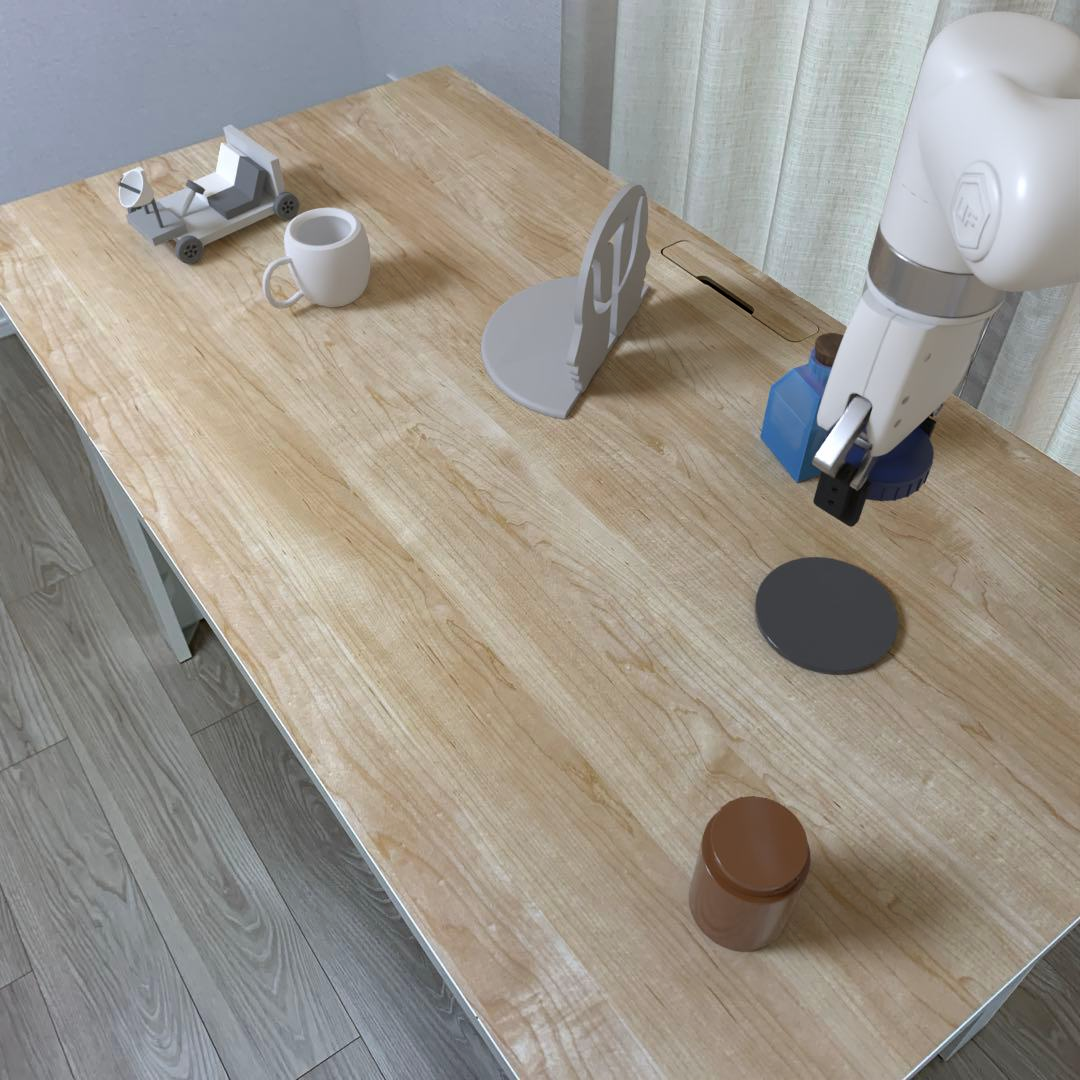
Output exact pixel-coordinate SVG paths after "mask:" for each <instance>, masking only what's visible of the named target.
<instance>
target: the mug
mask: <svg viewBox="0 0 1080 1080" xmlns="http://www.w3.org/2000/svg"><path fill="white" fill-rule="evenodd" d="M290 220H291V221H290V222H289V223H288V224H287V226H286V227H285V232H284V236H283V247H284V253H285V256H282V257H280V258H279V257H278V258H276V259H275V260H273V261H271V262H270V263H269V264H268V265H267V267H266V269H265V270H264V272H263V277H262V283H261V286H262V293H263V296H264V298H265V300H266V302H267V304H269V305H270V306H271V307H273V308H275V309H287V308H290V307H292V306H294V305H295V304H297V303H298V302H299V301H300V300H301V299H302V298H303V297H305V298H306V299H307V300H309V301H310V302H312V303H313V304H315V305H317V306H320V307H323V308H339V307H344V306H348V305H349V304H352V303H354V302H355V301H357V300H358V299H359V298H360V297H361V296H362V294H364V292H365V290H366V288H367V286H368V284H369V280H370V274H371V269H372V268H371V267H372V266H371V265H372V261H371V260H372V259H371V247H370V242H369V238H368V235H367V231H366V229H365V226H364V224H363V222H362V221H361V219H360V218H359V217H358V216H357V215H356V214H355V213H354V212H351V211H349V210H347V209H344V208H339V207H319V208H313V209H309V210H306V211H303V212H302V213H299V214H298V215H297V216H296V215H295V216H294V217H293V218H292V219H290ZM284 265H287V268H288V270H289V272H290V275H291V277H292V279H293V281H294V283H295V285H296V287H297V289H298V291H296V292H295V293H294V294H293V295H292V296H291V297H290V298H288V299H286V300H283V301H282V300H281V301H278V300H276V299H275V298H274V297H273V294H272V293H271V289H270V284H271V282H270V281H271V277H272V275H273V273H274V271H275V270H277V269H278V268H279V267H280V266H284Z"/></svg>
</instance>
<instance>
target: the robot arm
mask: <svg viewBox="0 0 1080 1080" xmlns="http://www.w3.org/2000/svg"><path fill="white" fill-rule="evenodd" d="M921 64H922V65H921V67H920V71H919V75H918V78H917V82H916V85H915V89H914V92H913V97H912V101H911V104H910V108H909V112H908V114H907V119H906V122H905V127H904V130H903V134H902V138H901V141H900V144H899V148H898V151H897V155H896V156H897V157H896V159H895V163H894V167H893V171H892V174H891V177H890V182H889V186H888V189H887V193H886V197H885V201H884V203H883V208H882V211H881V216H880V219H879V222H878V226H877V229H876V233H875V236H874V240H873V244H872V248H871V252H870V255H869V259H868V262H867V266H866V270H865V282H866V285H867V288H866V289H865V291H864V292H863V293H862V295H861V297H860V299H859V301H858V303H857V304H856V307H855V309H854V311H853V314H852V315H851V318H850V320H849V322H848V324H847V327H846V329H845V331H844V334H843V335H844V336H843V339H842V341H841V344H840V347H839V349H838V352H837V355H836V358H835V360H834V364H833V367H832V369H831V372H830V375H829V378H828V381H827V384H826V388H825V391H824V394H823V397H822V400H821V404H820V407H819V410H818V415H817V423H818V426H820V427H822V428H824V429H825V430H827V431H828V430H829V429H831V428H832V427H833V426H834V425H835V424H836V425H835V426H834V428H833V429H832V431H831V432H830V434H829V435H828V437H827V438H826V440H825V441H824V443H823V444H822V446H821V447H820V449H819V450H818V452H817V453H816V455H815V457H814V458H813V461H812V464H813V465H814V466H816V467H817V468H818V469H819V470H821V475H819V478H818V482H817V486H816V490H815V492H814V497H813V500H812V501H813V504H814V505H815V506H816V507H817V508H819V509H821V510H822V511H823V512H824V513H826V514H828V515H830V516H831V517H833V518H835V520H836V519H837V520H838V521H840V522H842V523H843V524H844V525H846V526H848V527H851V528H852V527H854V526H856V525H857V524H858V523H859V521H860V519H861V516H862V512H863V509H864V507H865V503H866V498H867V495H868V492H869V489H870V486H871V483H870V482H869V481H868V480H867V478H868V476H869V474H870V472H871V471H872V469H873V467H874V465H875V463H876V461H877V459H878V458H879V456H881V455H884V454H887V453H888V452H890V451H891V450H892V449H893V448H894V447H896V446H897V445H898V444H899V443H900V442H901V441H902V440H903V439H904V438H906V437H907V436H908V435H909V434H910V433H911V432H912V431H913V430H914V429H915V428H916V427H917V426H919V427H920V428H922V430H923V431H924V432H925V433H926V434H927V436H928V437H929V439H930V440H931V438H932V435H933V433H934V429H935V427H936V424H937V421H936V420H935V418H937V417H938V416H939V414H940V413H941V412H942V410H943V408H944V406H945V402H946V400H947V399H948V398H949V397H950V396H951V394H953V392H954V391H955V390H956V388H957V387H958V386H959V384H960V383H961V381H962V379H963V377H964V376H965V373H966V372H967V370H968V367H969V365H970V363H971V361H972V358H973V355H974V353H975V351H976V348H977V345H978V342H979V340H980V337H981V334H982V331H983V327H984V325H985V322H986V319H989V318H990V317H992V316H993V315H994V314H996V313H997V311H999V309H1000V308H1001V306H1002V305H1003V303H1004V301H1005V298H1006V296H1007V293H1008V292H1011V293H1012V292H1016V293H1017V292H1019V293H1022V292H1030V291H1031V292H1032V291H1039V290H1045V289H1051V288H1055V287H1061V286H1065V285H1071V284H1075V283H1080V37H1079V35H1078V34H1077V33H1076V32H1075V31H1073V30H1071V29H1070V28H1068V27H1066V26H1064V25H1063V24H1061V23H1059V22H1056V21H1054V20H1051V19H1048V18H1045V17H1043V16H1042V17H1041V16H1039V15H1034V14H1029V13H1023V12H1015V11H1001V10H1000V11H997V10H996V11H984V12H977V13H973V14H969V15H965V16H963V17H961V18H959V19H956V20H955V21H952V22H950V23H949V24H948V25H946V26H945V27H944V28H943V29H941V31H939V32H938V33H937V35H936V36H935V37H934V38H933V40H932V42H931V43H930V45H929V46H928V48H927V50H926V54H925V55H924V58H923V61H922V63H921ZM933 418H934V419H933ZM866 425H867V426H866ZM865 426H866V431H867V434H865V433H863V432H862V431H863V429H864V428H865ZM853 444H854V445H856V446H858V447H859V448H861V449H863V450H865V451H866V453H865V455H864V457H863V459H862V461H861V463H860V464H859V466H858V468H857V467H855V466H854V465H852V464H850V463H849V462H847V461H845V457H846V455H847V453H848V451H849V450H850V448H851V447H852V445H853Z"/></svg>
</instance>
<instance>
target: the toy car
mask: <svg viewBox="0 0 1080 1080" xmlns="http://www.w3.org/2000/svg"><path fill="white" fill-rule="evenodd" d="M222 130H223V134H224V137H225V140H226V142H220V146H219V152H218V156H217V163H216V168H215V171H214V172H212V173H208V174H206V175H204V176H203V177H199V178H197V179H194V180H193V181H192V180H190V179H188V180H187V181H186V183H185V188H183V189H180V190H178V191H175V192H173V193H170V194H168V195H165V196H163V197H161V198H158V199H156V200H155V194H154V193H155V192H154V190H153V187H152V185H151V184H150V183H149V181H148V177H147V174H146V170H145V169H144V168H142V167H141V166H138V167H134V168H131V169H130V170H128V171H125V172H123V173H122V176H123V177H121V178H119V181H118V182H117V186H119V188H118V200H119V203H120V205H121V206H122V207H123V208H127V213H128V214H125V218H126V220H127V223H128V225H130V226H131V227H132V228H133V229H134V230H135V231H137V232H138V233H139V234H140V235H141V236H142V237H143V238H144V239H146V240H147V241H148V242H149V243H150V244H151V245H152V246H154V247H158V246H159V245H162V244H164V243H166V242H169V241H171V240H173V241H174V242H175V243H176V244H175V247H174V253H175V256H176V258H177V259H178V260H180V262H181V263H183V264H185V265H193V264H195V263H197V262H199V261H200V260H201V259H202V257H203V255H204V252H205V248H204V246H206V245H208V244H210V243H213V242H216V241H217V240H219V239H221V238H224V237H226V236H229V235H230V234H233V233H235V232H237V231H239V230H241V229H244V228H246V227H248V226H250V225H253V224H255V223H257V222H259V221H261V220H263V219H265V218H268V217H269V216H272V215H276V216H277V217H278V218H280V220H284V221H287V220H292V219H294V218H295V217H296V215H297V214H298V212H299V210H300V201H299V198H298V196H296V195H295V194H293V192H290V191H286V185H285V181H284V177H283V173H282V168H281V164H280V159H279V157H278V156H276V155H274V153H272V152H270V151H269V150H267V149H266V148H265V147H264V146H262V145H261V144H259V143H257V142H256V141H255V140H253V139H252V138H251V137H249V136H248V135H246V134H245V133H243V132H242V131H241V130H239V129H238V128H237V127H235V126H234V125H232V124H228V125H225V126H224V127H222Z"/></svg>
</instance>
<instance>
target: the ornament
mask: <svg viewBox="0 0 1080 1080" xmlns="http://www.w3.org/2000/svg"><path fill="white" fill-rule="evenodd" d="M647 195H648V194H647V192H646V190H645V187H644V186H643V185H641V184H638V183H634V182H629V183H626V184H624V185H623V186H622V187H621V188H620V189H619V190H618V191H617V192H616V193H615V194H614V195H613V196H612V198H611V199H610V200H609V202H608V204H607V205H606V207H605V208H604V209H603V211H602V213H601V214H600V215H599V218H598V220H597V222H596V224H595V225H594V228H593V230H592V232H591V235H590V236H589V240H588V242H587V245H586V248H585V251H584V255H583V258H582V262H581V265H580V270H579V273H578V274H577V275H569V276H562V277H558V278H552V279H549V280H546V281H542V282H539V283H536V284H533V285H531V286H529V287H526V288H524V289H522V290H521V291H519V292H517V293H515V294H514V295H512V296H511V297H509V298H507V299H506V300H505V301H504V302H503V303H502V304H501V305H500V306H499V307H498V308H497V309H496V310H495V311H494V312H493V313H492V315H491V316H490V318H489V319H488V321H487V323H486V325H485V327H484V328H483V332H482V336H481V340H480V341H481V342H480V354H481V355H480V356H481V360H482V364H483V367H484V369H485V372H486V373H487V375H488V377H489V379H490V380H491V381H492V382H493V384H494V385H495V386H496V387H497V388H498V389H499V390H500V391H501V392H502V393H503V394H505V395H506V396H507V397H508V398H510V399H511V400H512V401H514V402H516V403H518V404H519V405H521V406H523V407H525V408H527V409H529V410H530V411H531V410H532V411H534V412H536V413H539V414H542V415H545V416H549V417H550V418H551V417H552V418H555V419H561V420H566V418H567V417H568V415H569V414H570V412H571V411H572V409H573V408H574V406H575V405H576V403H577V402H578V400H579V399H580V397H581V396H582V394H583V393H584V392H585V391H586V390H587V388H588V386H589V384H590V382H591V380H592V378H593V377H594V376H595V374H596V373H597V371H598V370H599V368H600V367H601V366H602V365H603V363H604V361H605V359H606V357H607V356H608V355H609V353H610V351H611V349H612V348H613V347H614V345H615V343H616V342H617V341H618V338H619V337H621V336H622V335H623V333H624V331H625V330H626V327H627V326H628V324H629V322H630V321H631V319H632V318H633V317H634V316H635V315H636V314H637V313H638V311H639V308H640V305H641V303H642V302H643V300H644V299H645V297H646V296H647V294H648V293H649V292H650V290H651V286H650V285H647V284H645V279H646V276H647V265H648V263H649V261H650V257H651V250H650V248H649V244H648V239H647V233H648V227H649V203H648V196H647ZM612 238H613V241H612V242H611V241H610V240H611V239H612Z"/></svg>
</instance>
